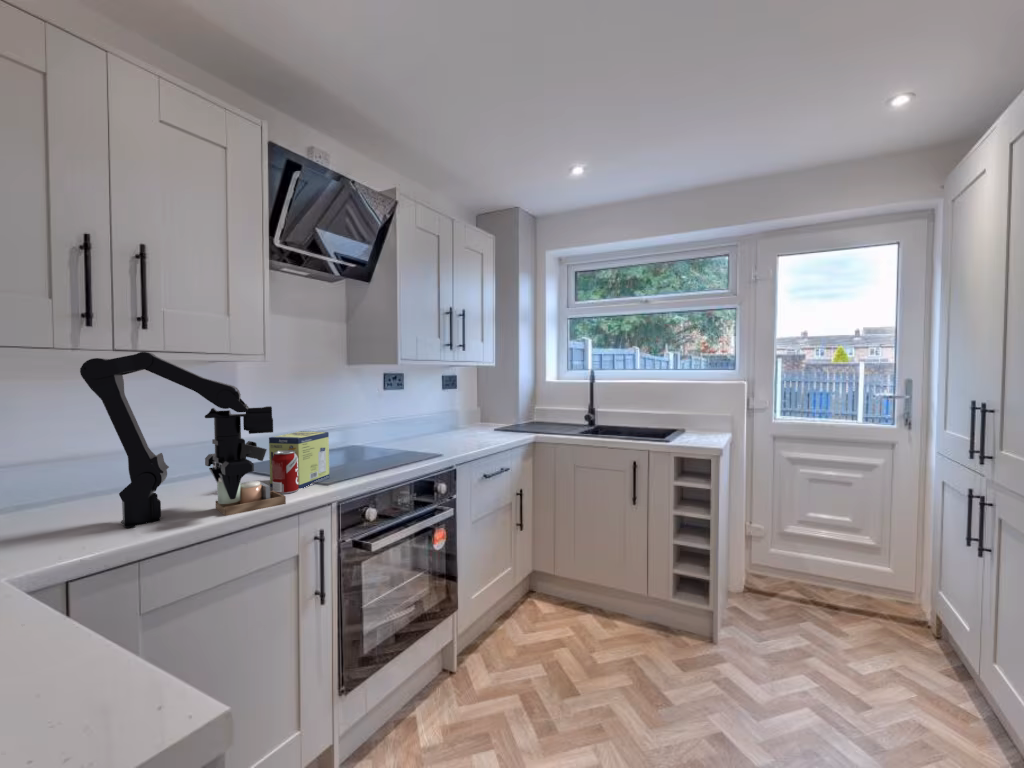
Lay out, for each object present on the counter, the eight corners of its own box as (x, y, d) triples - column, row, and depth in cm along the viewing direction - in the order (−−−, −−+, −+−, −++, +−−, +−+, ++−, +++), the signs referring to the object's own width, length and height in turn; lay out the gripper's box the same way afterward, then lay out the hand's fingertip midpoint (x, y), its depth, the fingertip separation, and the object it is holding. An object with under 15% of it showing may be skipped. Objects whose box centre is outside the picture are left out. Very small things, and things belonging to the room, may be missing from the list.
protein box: (269, 488, 144) (267, 437, 144) (302, 477, 160) (301, 430, 159) (299, 490, 142) (298, 438, 142) (330, 478, 157) (329, 431, 157)
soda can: (280, 497, 134) (279, 454, 134) (268, 493, 138) (267, 452, 138) (303, 492, 140) (302, 451, 139) (291, 488, 144) (290, 449, 143)
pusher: (266, 505, 123) (265, 486, 123) (257, 501, 128) (256, 482, 128) (270, 505, 124) (269, 485, 124) (261, 500, 129) (260, 481, 129)
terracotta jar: (243, 510, 121) (243, 486, 120) (237, 506, 124) (236, 483, 124) (264, 506, 124) (264, 482, 124) (258, 502, 128) (257, 479, 127)
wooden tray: (225, 517, 116) (225, 507, 116) (215, 510, 122) (215, 500, 122) (285, 505, 126) (285, 496, 126) (273, 499, 132) (273, 490, 132)
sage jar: (243, 501, 120) (242, 477, 120) (221, 505, 117) (220, 480, 117) (237, 497, 124) (236, 474, 124) (215, 501, 120) (214, 477, 120)
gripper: (275, 435, 119) (277, 497, 120) (250, 429, 132) (252, 485, 133) (225, 440, 111) (226, 506, 112) (203, 433, 124) (205, 493, 125)
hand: (229, 497), depth 120 cm, fingers closed on sage jar, 5 cm apart
